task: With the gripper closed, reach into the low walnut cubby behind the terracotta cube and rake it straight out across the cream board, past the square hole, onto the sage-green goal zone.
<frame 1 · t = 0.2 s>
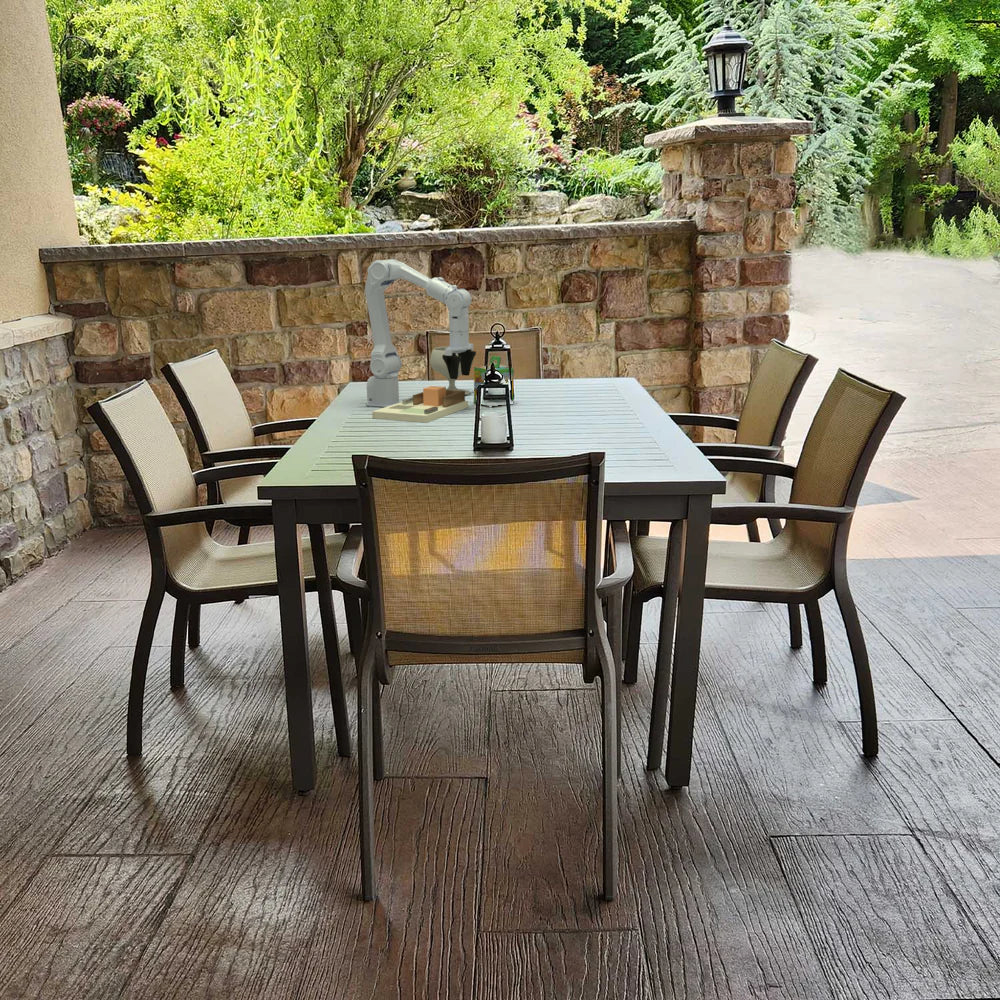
hand: (459, 377, 300), 10 cm above the table, tool pointing down, fingers open, 7 cm apart
deck: (421, 412, 299), on the table
cubby: (439, 409, 304), resting on deck
cube: (435, 404, 301), point 2 cm above the table, touching deck
chalk box: (494, 405, 312), on the table
long grey rectangular bar: (411, 401, 306), resting on deck
short rod: (431, 412, 289), resting on deck
chalice: (452, 394, 331), on the table
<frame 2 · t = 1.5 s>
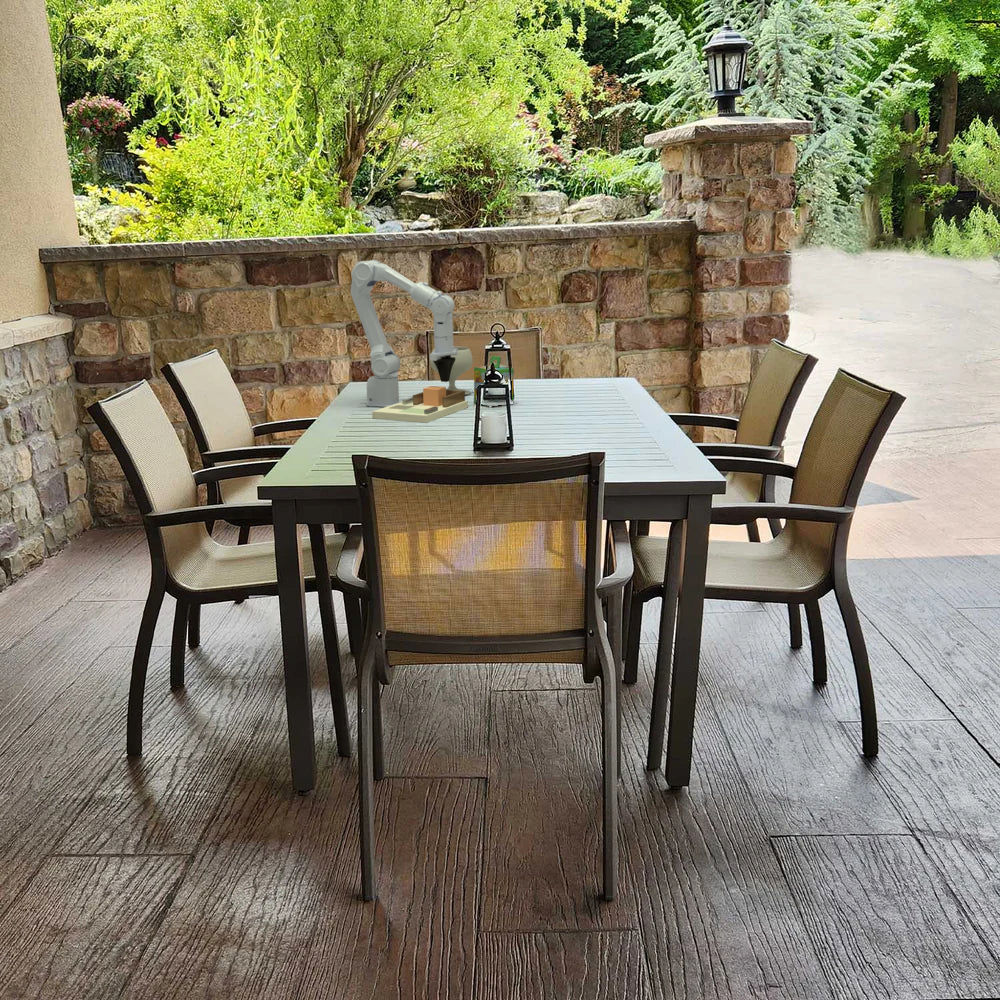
hand: (444, 381, 305), 8 cm above the table, tool pointing down, fingers closed
nothing on the table moved.
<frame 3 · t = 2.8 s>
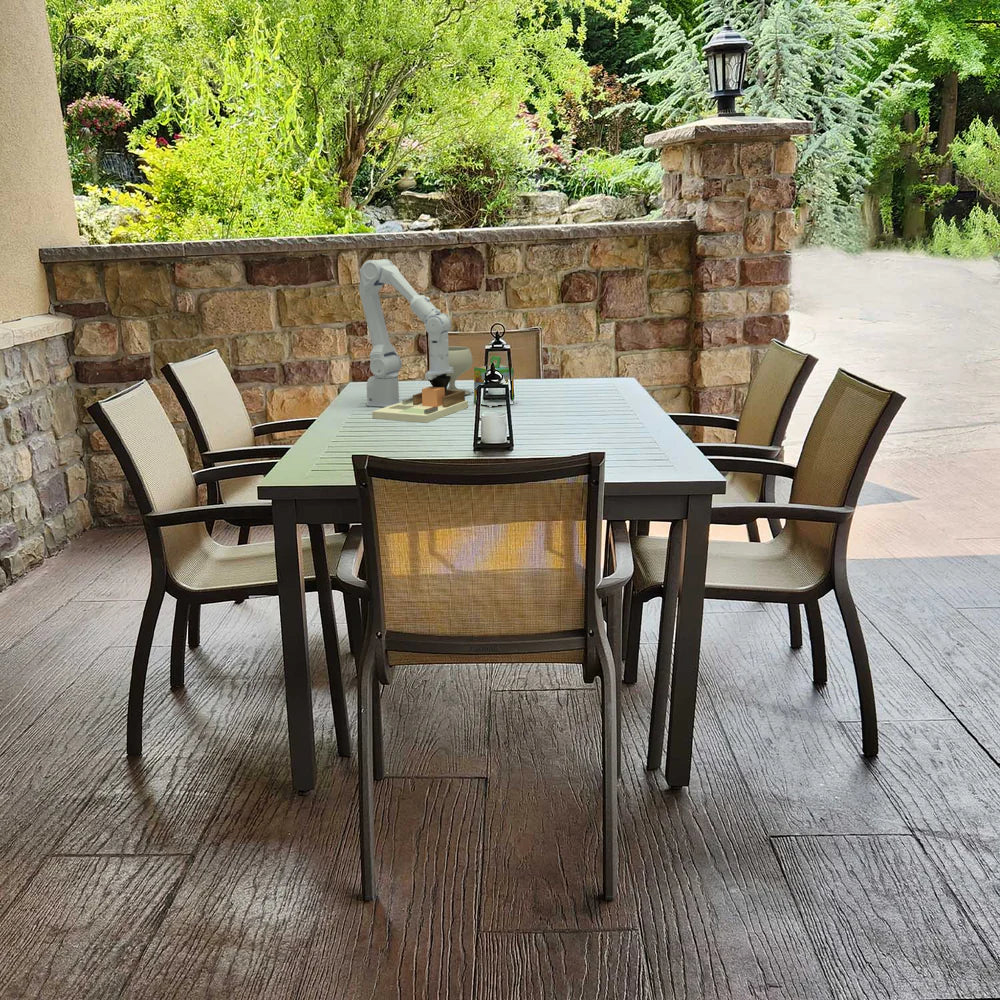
hand: (440, 400, 304), 3 cm above the table, tool pointing down, fingers closed
cube: (433, 404, 300), point 2 cm above the table, touching gripper
everything else where it was.
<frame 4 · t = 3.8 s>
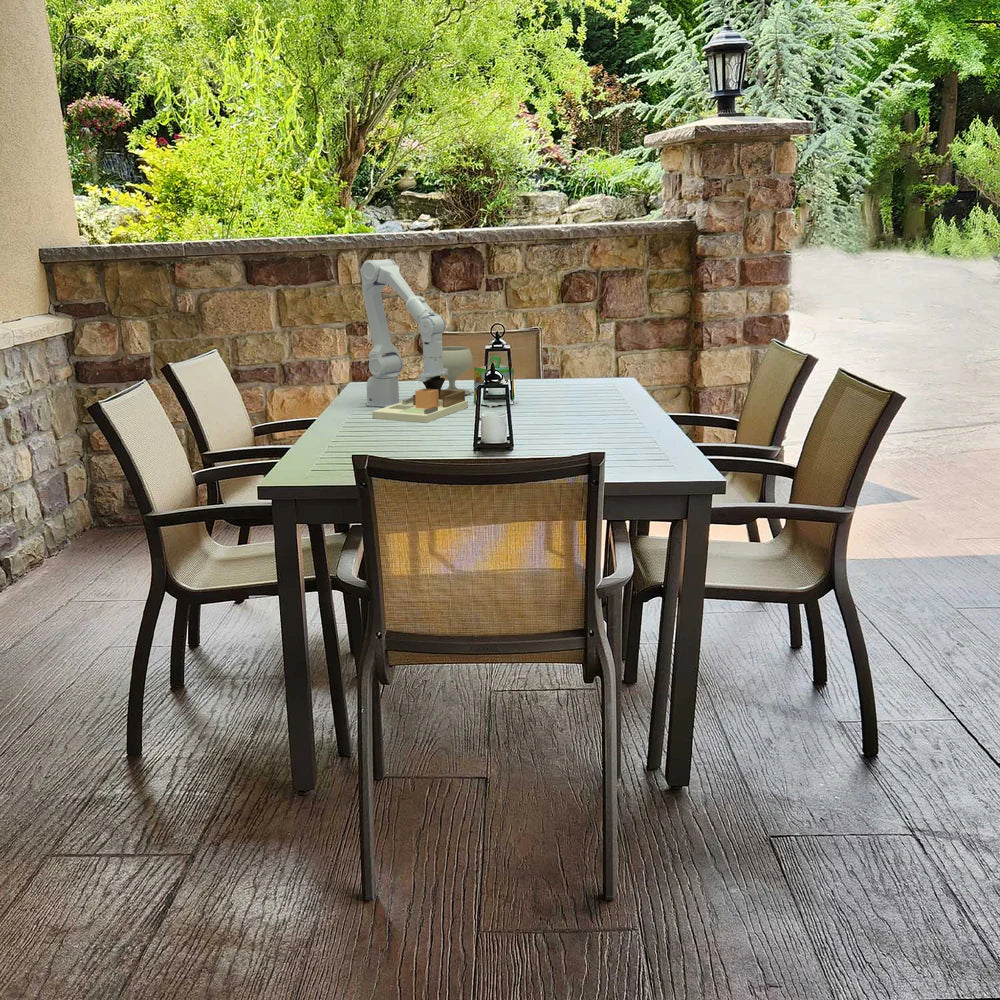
hand: (434, 402, 301), 3 cm above the table, tool pointing down, fingers closed
cube: (427, 407, 297), point 2 cm above the table, touching deck, gripper
everything else where it was.
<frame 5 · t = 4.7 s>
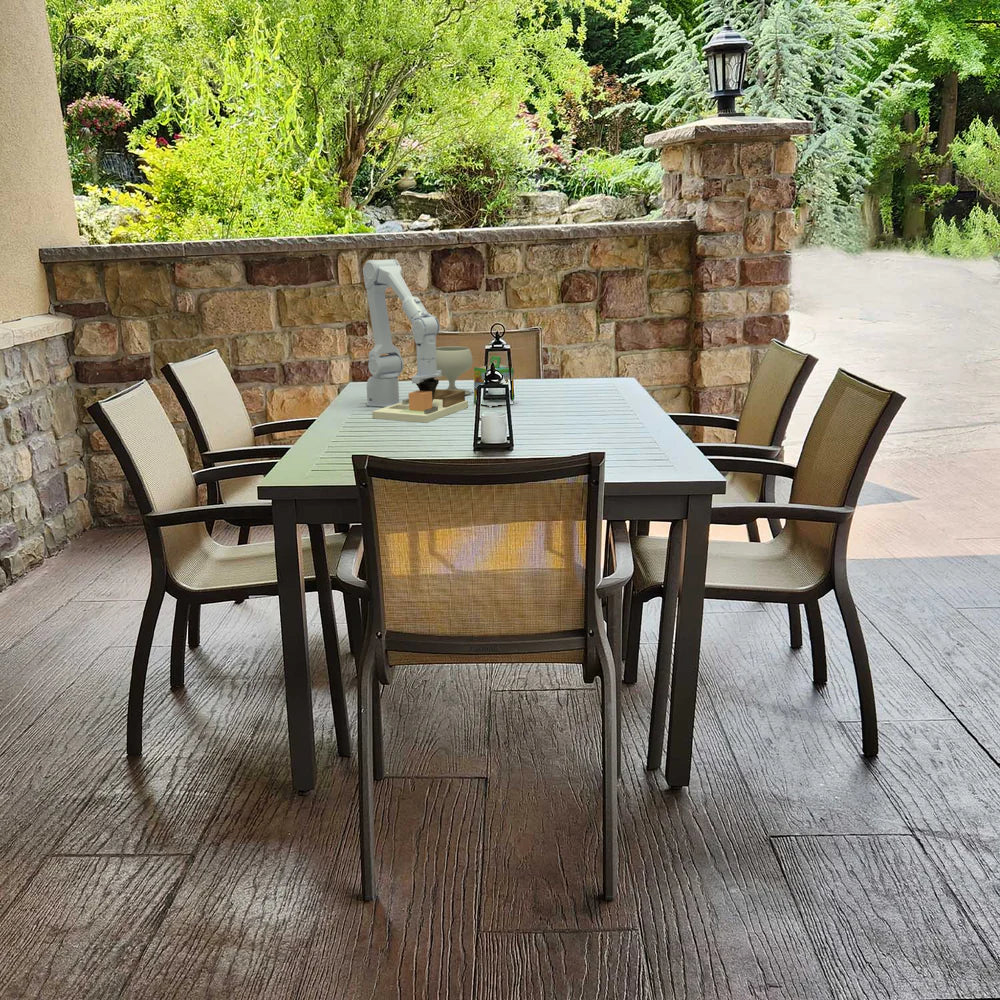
hand: (428, 404, 297), 3 cm above the table, tool pointing down, fingers closed
cube: (420, 409, 294), point 2 cm above the table, touching gripper
everything else where it was.
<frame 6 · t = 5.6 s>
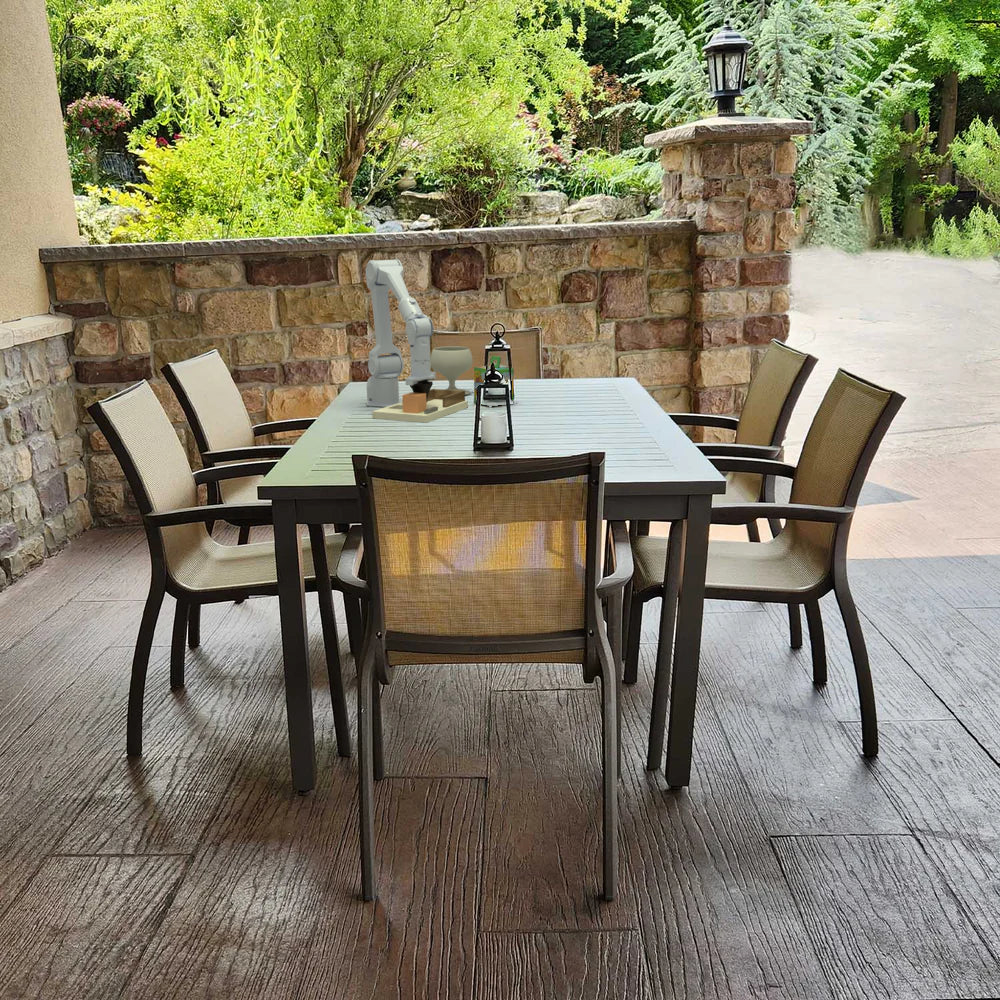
hand: (421, 406, 294), 3 cm above the table, tool pointing down, fingers closed
cube: (414, 411, 290), point 2 cm above the table, touching deck, gripper
everything else where it was.
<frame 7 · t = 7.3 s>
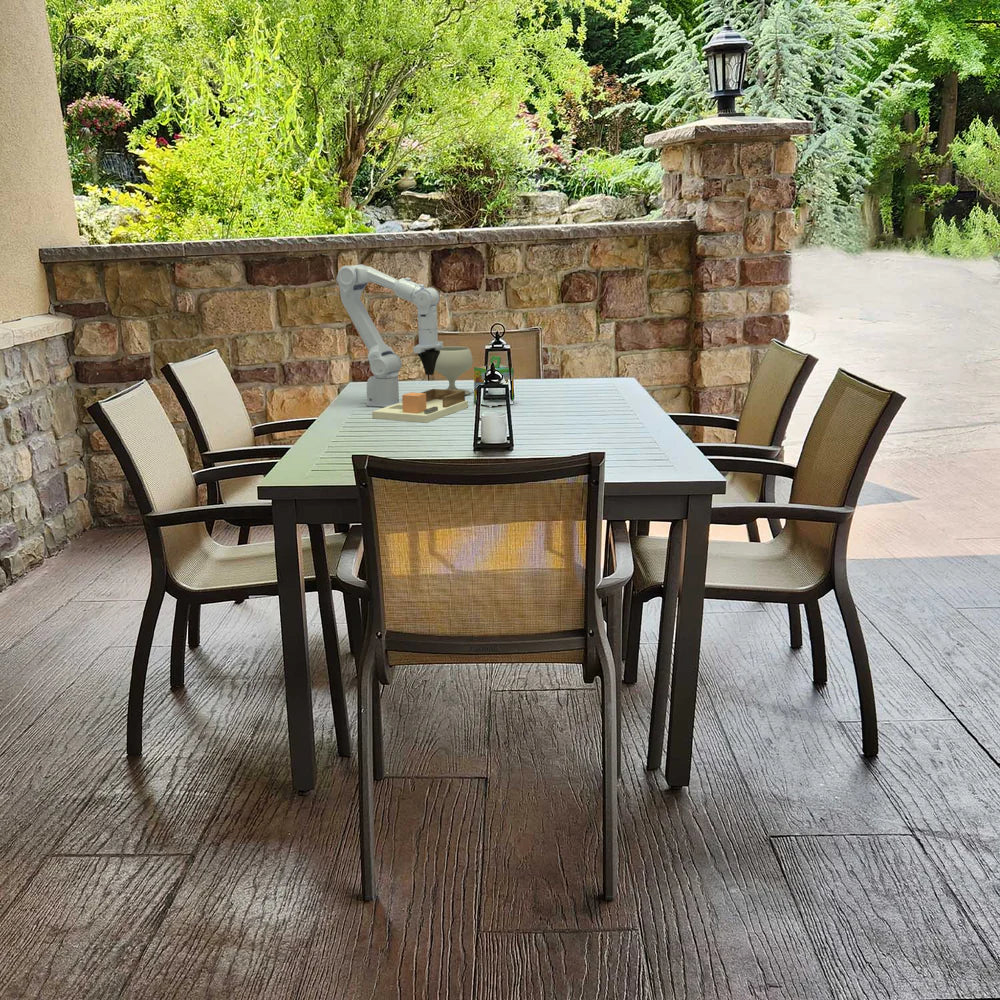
hand: (429, 374, 304), 10 cm above the table, tool pointing down, fingers closed
cube: (414, 411, 290), point 2 cm above the table, touching deck
everything else where it was.
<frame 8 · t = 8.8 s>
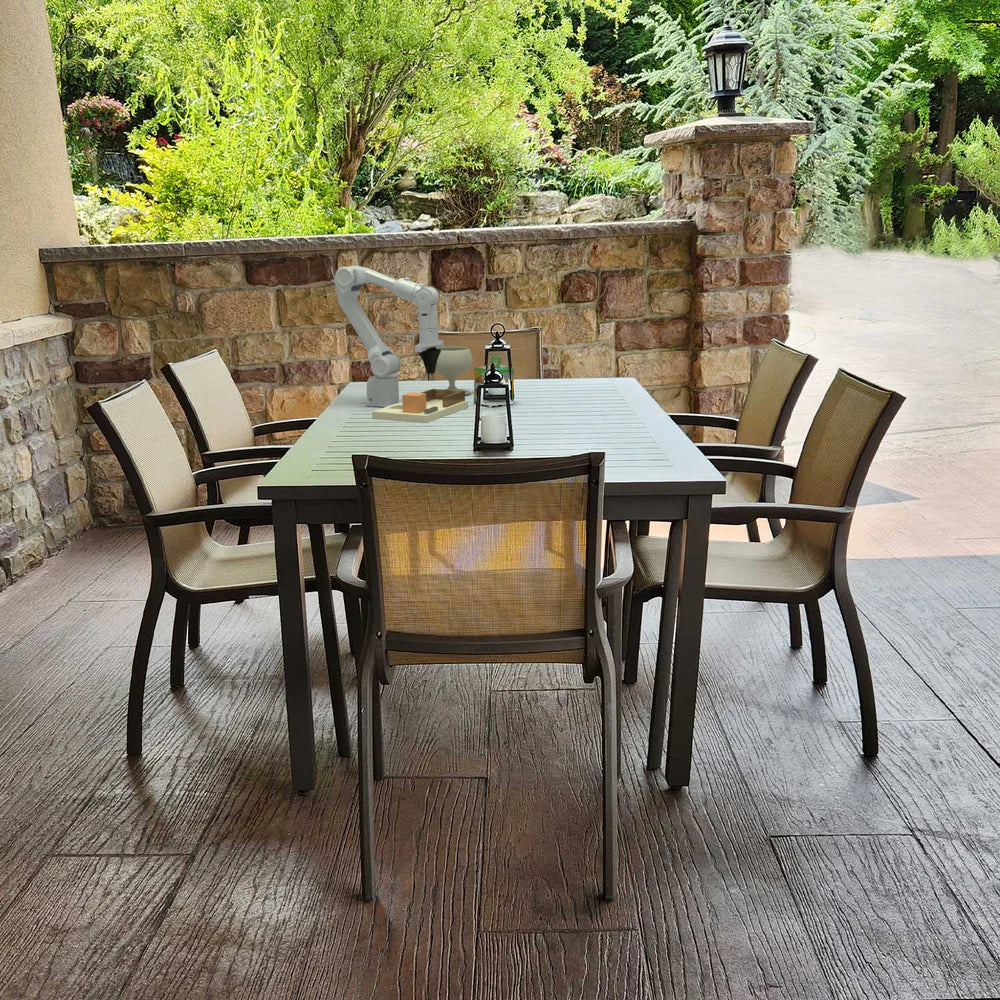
hand: (430, 373, 305), 10 cm above the table, tool pointing down, fingers closed
nothing on the table moved.
at the end: cube inside the target area (1.1 cm from its centre), point 2.0 cm above the table; cube tilted 0°; cube moved 12.3 cm from its start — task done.
